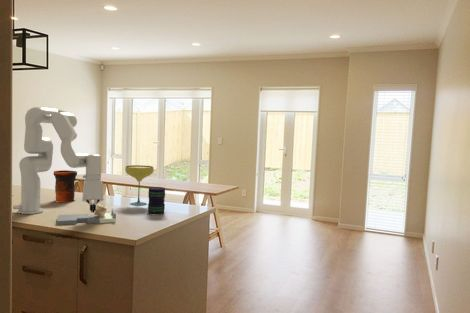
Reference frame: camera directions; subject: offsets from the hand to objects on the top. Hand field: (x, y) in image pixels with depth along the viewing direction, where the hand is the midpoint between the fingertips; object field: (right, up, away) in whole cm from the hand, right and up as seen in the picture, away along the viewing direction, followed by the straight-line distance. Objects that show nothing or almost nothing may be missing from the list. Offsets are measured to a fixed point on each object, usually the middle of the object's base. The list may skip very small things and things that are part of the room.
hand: (92, 212), depth 200 cm
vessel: (-37, 0, +50) cm, 62 cm away
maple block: (+3, -2, +1) cm, 4 cm away
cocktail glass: (+12, -2, +50) cm, 51 cm away
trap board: (-3, -4, -1) cm, 5 cm away
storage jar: (+28, -5, +26) cm, 39 cm away
